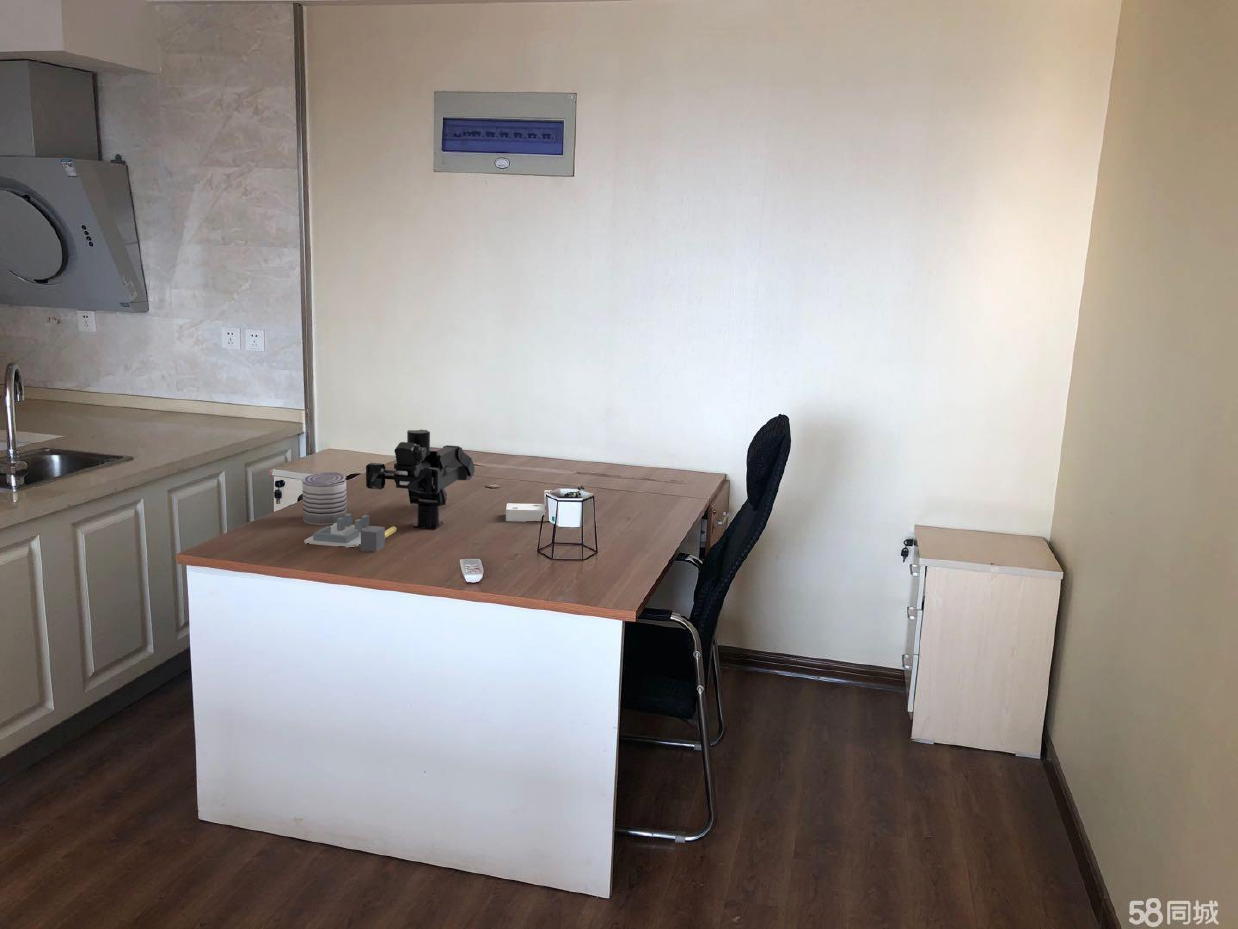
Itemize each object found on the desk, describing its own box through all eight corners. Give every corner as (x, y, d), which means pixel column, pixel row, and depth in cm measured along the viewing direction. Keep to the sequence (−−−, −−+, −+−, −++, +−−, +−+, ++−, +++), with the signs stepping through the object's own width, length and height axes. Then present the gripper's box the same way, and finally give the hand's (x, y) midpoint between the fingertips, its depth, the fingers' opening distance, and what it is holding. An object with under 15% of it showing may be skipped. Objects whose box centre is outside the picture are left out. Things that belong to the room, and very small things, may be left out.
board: (335, 526, 258) (335, 512, 258) (382, 530, 256) (382, 516, 256) (304, 543, 242) (304, 528, 241) (353, 548, 240) (353, 533, 239)
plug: (387, 534, 253) (387, 515, 252) (401, 535, 253) (401, 516, 252) (360, 550, 238) (360, 530, 237) (376, 552, 237) (376, 532, 236)
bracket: (552, 516, 279) (553, 490, 277) (553, 523, 272) (553, 496, 270) (506, 515, 278) (507, 489, 276) (505, 522, 271) (506, 495, 269)
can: (356, 519, 266) (355, 476, 263) (322, 527, 256) (321, 483, 254) (327, 512, 272) (326, 470, 270) (293, 520, 263) (292, 476, 260)
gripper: (379, 438, 250) (352, 449, 235) (449, 443, 247) (426, 455, 231) (379, 481, 252) (353, 494, 237) (449, 487, 249) (426, 501, 234)
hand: (389, 485), depth 235 cm, fingers open, 9 cm apart
